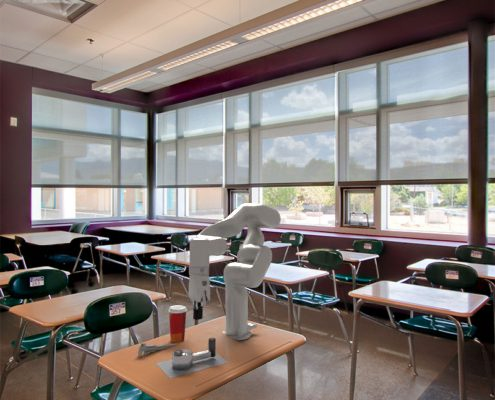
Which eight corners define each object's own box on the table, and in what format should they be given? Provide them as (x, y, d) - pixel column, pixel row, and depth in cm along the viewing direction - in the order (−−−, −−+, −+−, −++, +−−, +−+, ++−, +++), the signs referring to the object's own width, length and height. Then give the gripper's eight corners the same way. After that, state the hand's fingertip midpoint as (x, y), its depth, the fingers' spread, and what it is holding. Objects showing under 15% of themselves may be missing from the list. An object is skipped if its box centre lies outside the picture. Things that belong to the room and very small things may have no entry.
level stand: (211, 353, 144) (211, 349, 144) (228, 366, 133) (228, 362, 133) (155, 367, 132) (155, 362, 132) (169, 382, 121) (169, 377, 121)
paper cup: (179, 336, 162) (179, 303, 162) (190, 340, 156) (190, 307, 156) (164, 340, 156) (164, 307, 156) (175, 346, 151) (175, 311, 151)
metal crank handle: (210, 353, 140) (210, 335, 139) (219, 360, 134) (219, 341, 134) (169, 363, 131) (169, 344, 131) (176, 371, 125) (176, 351, 125)
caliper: (139, 361, 137) (139, 344, 137) (138, 361, 137) (138, 343, 137) (184, 346, 151) (185, 330, 151) (183, 345, 152) (183, 330, 152)
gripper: (217, 272, 138) (215, 322, 138) (199, 266, 151) (198, 312, 150) (198, 274, 134) (197, 326, 134) (182, 268, 147) (180, 315, 146)
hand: (197, 318), depth 142 cm, fingers closed
